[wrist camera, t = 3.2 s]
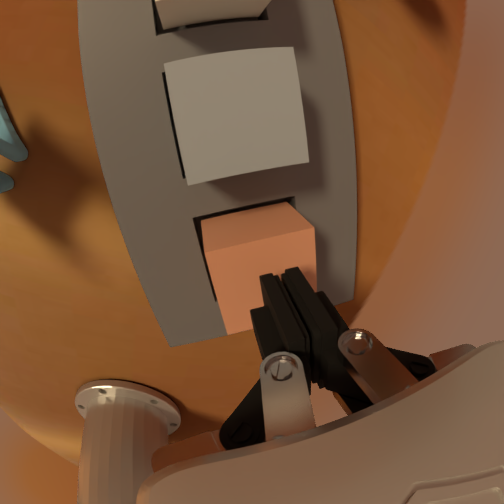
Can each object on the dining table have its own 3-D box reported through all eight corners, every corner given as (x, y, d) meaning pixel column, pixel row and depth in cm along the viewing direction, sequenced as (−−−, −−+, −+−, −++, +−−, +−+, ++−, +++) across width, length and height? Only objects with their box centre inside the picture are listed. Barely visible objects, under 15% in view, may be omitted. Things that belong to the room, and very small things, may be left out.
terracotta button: (293, 273, 18) (317, 310, 15) (219, 292, 18) (227, 334, 14) (286, 201, 16) (314, 227, 12) (200, 220, 15) (204, 252, 12)
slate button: (280, 150, 14) (309, 162, 11) (188, 168, 14) (188, 185, 10) (267, 63, 12) (293, 46, 9) (171, 78, 12) (163, 63, 8)
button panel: (336, 278, 23) (353, 299, 20) (170, 320, 21) (170, 347, 19) (292, -57, 9) (307, -75, 7) (92, -30, 8) (79, -47, 5)
